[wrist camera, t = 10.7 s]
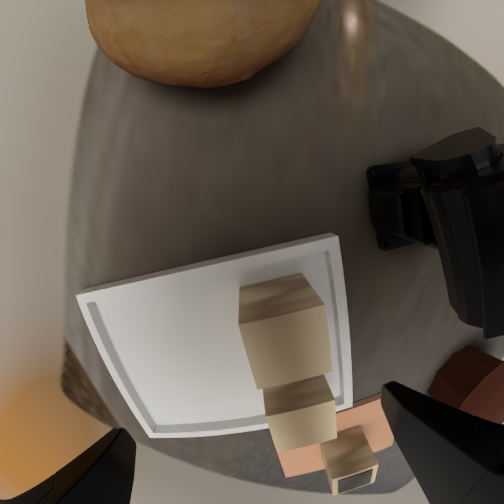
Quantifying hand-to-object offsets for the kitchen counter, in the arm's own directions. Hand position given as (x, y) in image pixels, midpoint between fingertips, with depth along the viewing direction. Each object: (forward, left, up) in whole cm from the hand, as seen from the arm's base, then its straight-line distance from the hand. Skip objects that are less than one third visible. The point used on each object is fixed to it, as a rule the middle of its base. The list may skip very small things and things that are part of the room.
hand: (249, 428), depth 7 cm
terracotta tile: (-6, +20, -13) cm, 25 cm away
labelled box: (-6, +20, -12) cm, 24 cm away
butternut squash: (-2, -20, -13) cm, 24 cm away
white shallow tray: (+3, +5, -13) cm, 14 cm away
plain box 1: (-2, +1, -12) cm, 13 cm away
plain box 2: (-2, +8, -12) cm, 15 cm away
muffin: (-22, +18, -13) cm, 31 cm away
